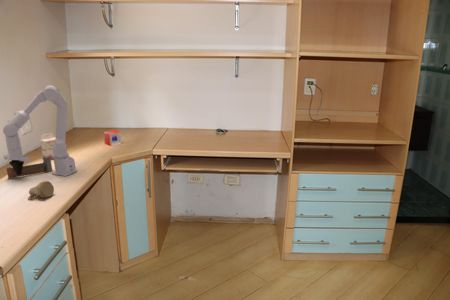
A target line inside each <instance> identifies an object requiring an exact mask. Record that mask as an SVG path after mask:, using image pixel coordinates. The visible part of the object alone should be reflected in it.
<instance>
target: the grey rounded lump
mask: <svg viewBox="0 0 450 300" xmlns="http://www.w3.org/2000/svg"><path fill="white" fill-rule="evenodd" d="M54 192H55V188H54V185H53V183H51V182H50V181H48V180H44V181H41V182H39V183H38V184H37V185H36V186H34V187H31V188H30V189H29V190H28V194H29V196H28V197H27V200H28V201H33V200H36V199H37V198H44V199H46V198H50V197H52V196H53V194H54Z"/></svg>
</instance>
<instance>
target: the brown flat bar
mask: <svg viewBox="0 0 450 300" xmlns="http://www.w3.org/2000/svg"><path fill="white" fill-rule="evenodd" d="M5 169H6V172H7V178H8V179H9V180H10V179H14V178H20V177H25V176H31V175H37V174H43V173H48V172H47V170H46V164H45V162H44V161H43V162H40V163H33V164H28V165H27V164H26V165H23V167H22V174H20V175H17V174H16V172H15V170H14V168H13V167H12V166H11V167H6V168H5Z"/></svg>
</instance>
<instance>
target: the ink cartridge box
mask: <svg viewBox="0 0 450 300" xmlns="http://www.w3.org/2000/svg"><path fill="white" fill-rule="evenodd" d="M39 136H40V137H39V138H40V140H39V142H40V146H41V152H42V153H41V154H42V158H43V157H46V156H49V157H51V158H50V159H51V161H54V159H53V156H54V154H53V145H54V144H55V142H56V135H55V132H49V133H43V134H40V135H39Z"/></svg>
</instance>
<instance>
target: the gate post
mask: <svg viewBox="0 0 450 300" xmlns="http://www.w3.org/2000/svg"><path fill="white" fill-rule="evenodd" d="M41 158H42V160H43V162H45V164H46V170H47V172H46V173H51V172H52V171H53V167H52V166H53V165H52V160H51V159H50V158H51V157H49V156H46V157H43V156H42V157H41Z"/></svg>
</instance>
